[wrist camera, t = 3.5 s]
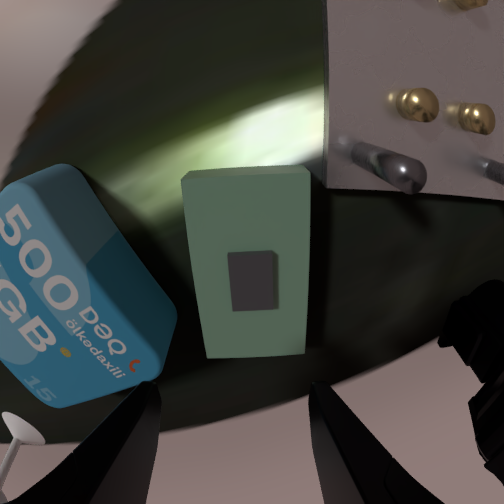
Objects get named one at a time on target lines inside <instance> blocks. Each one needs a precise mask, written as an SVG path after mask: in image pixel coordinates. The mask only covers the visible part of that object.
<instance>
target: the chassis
mask: <svg viewBox="0 0 504 504" xmlns="http://www.w3.org/2000/svg"><path fill="white" fill-rule="evenodd" d="M322 15H323V42H324V138H323V169H322V184H323V185H324V186H325V187H326V188H336V189H366V190H387V191H402V192H404V193H406V194H416V193H418V192H421V193H434V194H447V195H458V196H469V197H479V198H488V199H497V200H504V0H322Z"/></svg>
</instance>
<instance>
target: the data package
mask: <svg viewBox="0 0 504 504" xmlns="http://www.w3.org/2000/svg"><path fill="white" fill-rule="evenodd" d="M176 322H177V311H176V308H175V306H174V304H173V303H172V301H171V300H170V299H169V297H168V296H167V295H166V293H165V292H164V291H163V290H162V288H161V287H160V286H159V284H158V283H157V282H156V280H155V279H154V278H153V276H152V275H151V274H150V272H149V271H148V270H147V268H146V267H145V266H144V264H143V263H142V262H141V260H140V259H139V258H138V256H137V255H136V253H135V252H134V251H133V249H132V248H131V246H130V245H129V244H128V242H127V241H126V239H125V238H124V237H123V235H122V234H121V232H120V231H119V229H118V228H117V226H116V225H115V224H114V222H113V221H112V219H111V218H110V216H109V215H108V213H107V212H106V210H105V209H104V207H103V206H102V204H101V203H100V201H99V200H98V198H97V197H96V195H95V194H94V192H93V190H92V189H91V187H90V186H89V184H88V183H87V181H86V179H85V178H84V176H83V175H82V174H81V172H80V171H79V170H77V169H76V168H75V167H73V166H71V165H68V164H57V165H54V166H52V167H49V168H46V169H44V170H41V171H39V172H36V173H34V174H32V175H29V176H27V177H24V178H22V179H20V180H17V181H15V182H13V183H11V184H9V185H8V186H6V187H5V188H4V189H3V191H2V192H1V193H0V360H1V361H2V362H3V363H4V364H5V366H6V367H7V368H8V369H9V370H10V371H11V372H12V373H13V374H14V375H15V376H16V377H17V378H18V379H19V380H20V381H21V382H22V383H23V384H24V385H25V386H26V387H27V388H28V389H29V390H30V391H31V392H32V393H33V394H34V395H35V396H36V397H37V398H38V399H39V400H41V401H42V402H44V403H45V404H47V405H49V406H52V407H55V408H64V407H68V406H71V405H75V404H78V403H82V402H85V401H88V400H92V399H95V398H98V397H102V396H105V395H108V394H111V393H115V392H118V391H121V390H124V389H127V388H130V387H133V386H136V385H138V384H139V383H140V382H142V381H151V380H153V379H155V378H156V377H158V376H159V375H160V373H161V372H162V370H163V366H164V363H165V359H166V356H167V352H168V349H169V346H170V342H171V339H172V335H173V332H174V329H175V325H176Z"/></svg>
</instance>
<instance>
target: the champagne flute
mask: <svg viewBox="0 0 504 504" xmlns="http://www.w3.org/2000/svg"><path fill="white" fill-rule="evenodd" d="M2 417H3V419H4V421H5V423H6V425H7V427H8V428H9V430H10V432H11V434H12V435H13V437H14V438H13V440H12V442H11V444H10V446H9V449H8V451H7V453H6V455H5V457H4V459H3V462H2V464H1V466H0V504H3V503H7V502H8V501H7V499H6V497H5V495H4V493H3V492H2V490H1V489H2V486H3V484H4V481H5V479H6V477H7V474H8V472H9V470H10V467H11V465H12V462H13V460H14V458H15V456H16V454H17V452H18V449H19V447H20V445H21V443H26V444H35V445H44V444H45V439H44V438H43V436H42V435H41V434H40V433H39V432H38V431H37V430H36V429H35V428H34V427H33V426H31V425H30V424H29V423H27V422H26V421H25V420H23V419H21V418H20V417H18V416H16V415H14V414H12V413H9V412H3V413H2Z"/></svg>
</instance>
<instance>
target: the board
mask: <svg viewBox="0 0 504 504" xmlns="http://www.w3.org/2000/svg"><path fill="white" fill-rule="evenodd" d="M181 186H182V195H183V204H184V212H185V220H186V228H187V236H188V243H189V251H190V258H191V265H192V271H193V278H194V284H195V291H196V297H197V303H198V309H199V315H200V321H201V327H202V333H203V338H204V344H205V349H206V354H207V358H241V357H263V356H280V355H294V354H305V340H306V323H307V305H308V282H309V253H310V172H309V171H308V170H307V169H306V168H305V167H304V166H303V165H279V166H254V167H236V168H220V169H206V170H194V171H189V172H188V173H187V174H186V175H185V176H184V177H183V178H182V179H181Z"/></svg>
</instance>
